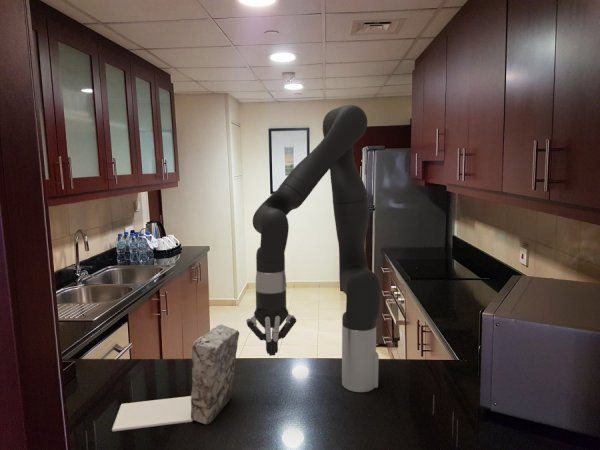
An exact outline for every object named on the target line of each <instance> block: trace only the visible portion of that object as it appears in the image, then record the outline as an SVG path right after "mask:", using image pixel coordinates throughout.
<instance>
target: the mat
mask: <svg viewBox="0 0 600 450" xmlns="http://www.w3.org/2000/svg"><path fill="white" fill-rule="evenodd" d="M193 421H194V420H193V419H191V395H188V396H187V395H186V396H181V397H179V396H178V397H172V398H170V397H169V398H161V399H153V400H144V401H136V402H129V403H128V402H126V403H121V405H119V410H118V412H117V415H116V418H115V420H114V423H113V425H112V428H111V431H112V432H117V431H119V432H120V431H126V430H127V431H128V430H136V429H142V428H150V427H158V426H165V425H166V426H167V425H174V424H175V425H176V424H183V423H191V422H193Z"/></svg>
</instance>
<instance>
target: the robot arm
mask: <svg viewBox="0 0 600 450" xmlns="http://www.w3.org/2000/svg"><path fill="white" fill-rule="evenodd" d="M367 117H368V116H367V114H366V112H365V111H364V109H362V107H360V106H358V105H355V104H348V105H343V106H339V107H336V108H333V109H331V110H330V111H329V112H327V113H326V114H325V116H324V118H323V121H322V134H323V139H322V140H321V141H320V143H318V145H317V146H316V147H315V148H313V150H312V151H311V152H310V153H309V154H308V155H307V156H305V157H304V158H303V159H302V160H301V161H299V162H298V163H297V165H295V166H294V168H293V169H292V170H291V171H290V172H289V173H288V175H287V176H286V178H284V180H283V181H282V183H280V185H279V186H278V188H277V189H276V190H275V191H274V192H272V194H271V195H270V196H269V197H268V198H266V199H265V200H264V202H263V203H261V204H260V206H259V207H258V208H257V209H256V211H255V213H254V214H253V217H252V226H253V228H254V230H255V232H257V233H259V234H260V244H259V245H260V247H258V249H257V250H256V255H255V256H256V258H255V263H256V272H255V311H254V312H253V316H252V317H250V318H248V319H246V326H247V327H248V328H249V329H250V330H251V332H253V334H254V335H255V336H256V337H257V338H258V339H259V340H260V341H265V351H266V353H267V354H268V355H269V356H271V357H272V356H276V354H277V353H278V352H279V347H278V346H279V340H282V339H285V337H286V336H287V335H288V333H290V331H291V330H292V328H293V326H295V324H296V323H297V319H296V317H295V315H292V314H290V313H289V310H288V309H287V286H288V285H287V277H286V263H285V262H286V259H285V258H286V257H285V252H286V247H287V243H288V237H289V227H290V226H289V219H288V217H287V215H288V214H289V213H290V212H292V211H293V210H296V209H298V208H300V206H301V205H303V203H305V201H306V200H307V198H308V197H309V196H310V194H311V193H312V192H313V191H314V189H315V188H316V187H317V185H318V184H319V182H320V181H321V180H322V178H323V177H324V176H325V175H326V174H327V173H328V171H329V173H330V184H331V193H332V194H331V195H332V205H333V207H332V208H333V213H334V214H333V216H334V223H335V231H336V237H337V243H338V250H339V286H340V289H341V290H342V291H343V293H344V294H345V295H346V302H345V305H346V306H345V312H344V313H342V317H341V319H342V320H341V322H342V323H341V324H342V325H341V326H342V327H341V328H342V329H341V331H342V333H341V342H342V343H341V384H342V387H344V389H346V390H348V391H351V392H355V393H366V392H370V391H373V390H374V389H375V388H376V389H377V388H378V387H379V358H380V357H379V356H380V355H379V353H378V352H377V322H378V321H377V320H378V319H379V316H380V307H381V306H380V305H381V282H380V280H379V277H378V276H377V275H376V273H375V272H373V271H372V270H370V269H369V266H368V260H367V254H366V239H367V233H368V229H369V224H370V223H369V222H370V208H369V207H370V205H369V200H368V198H369V197H368V196H369V195H368V192H367V188H366V186H365V183H364V181H363V179H362V176H361V175H360V173H359V171H358V168H357V165H356V162H355V158H354V157H355V156H354V145H355V144H356V143H357V142H358V141H359V140H360V139H361V138H362V137H363V136H364V135H365V133H366V131H367V128H368V118H367ZM257 322H258V323H259V324H260V325H261V327H262V328H264V333H263V332H262V331H261V329H259V327H258V326H257V325H258V323H257ZM284 322H285V323H284ZM283 323H284V324H283ZM282 324H283V326H282V327H281V325H282ZM280 327H281V328H280Z"/></svg>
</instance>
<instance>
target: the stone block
mask: <svg viewBox="0 0 600 450" xmlns="http://www.w3.org/2000/svg"><path fill="white" fill-rule="evenodd" d="M239 338H240V332H239V330H237V329H235V328H232V327H229V326H227V325H223V324H219V325H218V324H217V326H216V327H213V328H211V329H210V330H209V331H208V332H206V333H205V334H204V335H201V336H200V337H198V338H197V339H195V341H193V344H192V347H191V348H192V350H191V360H190V361H191V379H192V383H191V384H192V387H191V393H190V396H191V419H193V421H196V422H198V423H199V424H200V423H201V424H204V425H210V424H211V423H212V422H213V420H214V419H215V418H217V416H218V415H219V414H220V413H221V411H222V410H223V409H224V407H225V406H227V404H228V403H229V401H231V397H232V392H233V391H232V390H233V385H234V384H233V383H234V378H235V366H236V359H237V351H238V346H239V345H238V343H239Z"/></svg>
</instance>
